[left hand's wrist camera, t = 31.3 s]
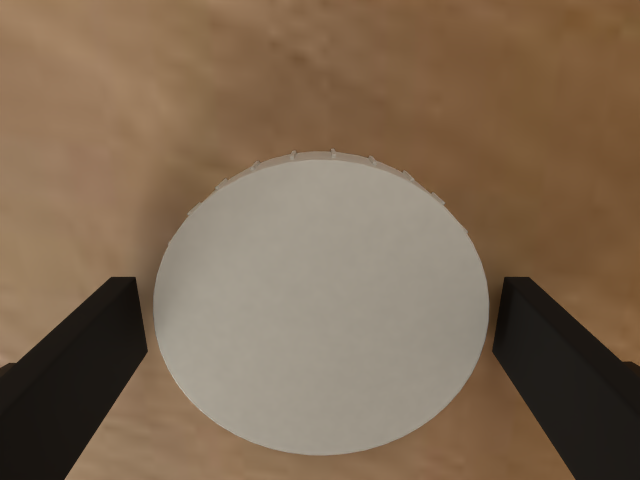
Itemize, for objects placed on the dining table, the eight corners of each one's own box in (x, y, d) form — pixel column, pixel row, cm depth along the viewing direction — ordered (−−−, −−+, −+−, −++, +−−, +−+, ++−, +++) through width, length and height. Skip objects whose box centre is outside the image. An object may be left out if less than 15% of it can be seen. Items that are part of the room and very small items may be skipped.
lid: (143, 156, 12) (118, 166, 11) (485, 141, 12) (509, 148, 11) (193, 425, 16) (179, 461, 14) (461, 416, 16) (477, 452, 14)
